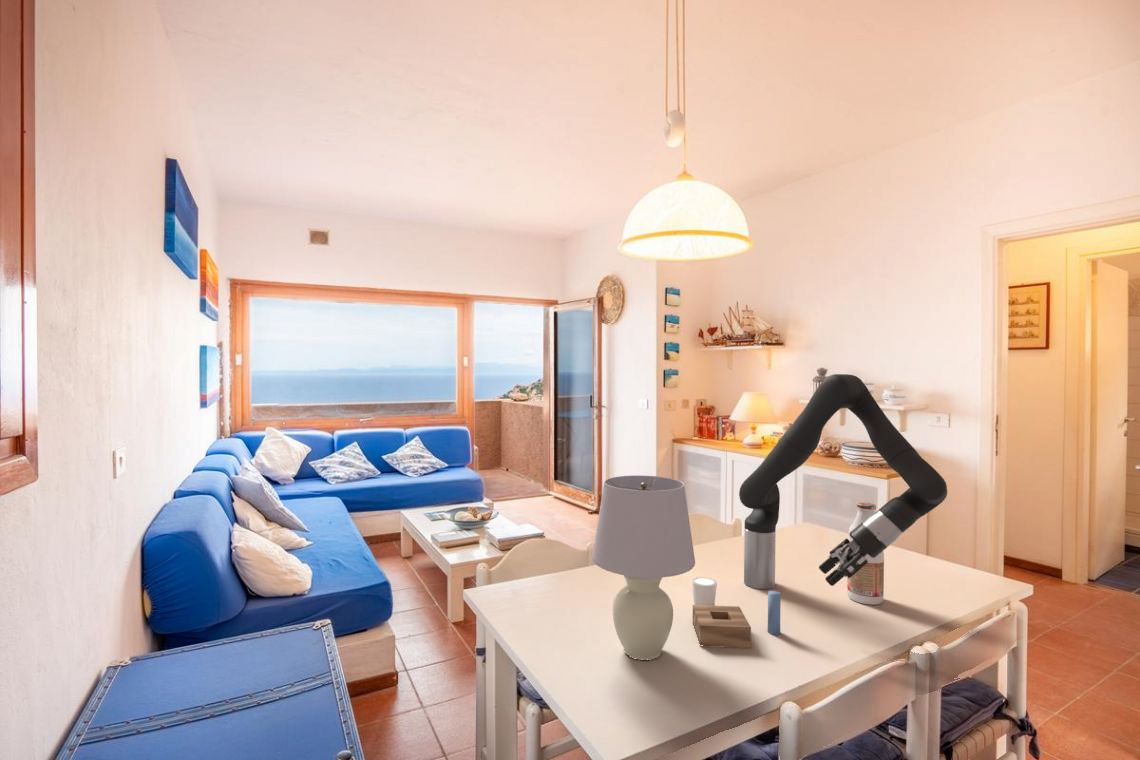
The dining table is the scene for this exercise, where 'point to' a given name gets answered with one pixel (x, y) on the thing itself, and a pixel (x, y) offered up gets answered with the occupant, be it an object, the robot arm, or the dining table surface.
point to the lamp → (643, 555)
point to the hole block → (721, 626)
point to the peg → (774, 612)
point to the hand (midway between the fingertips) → (824, 576)
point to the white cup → (704, 591)
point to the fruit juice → (867, 568)
